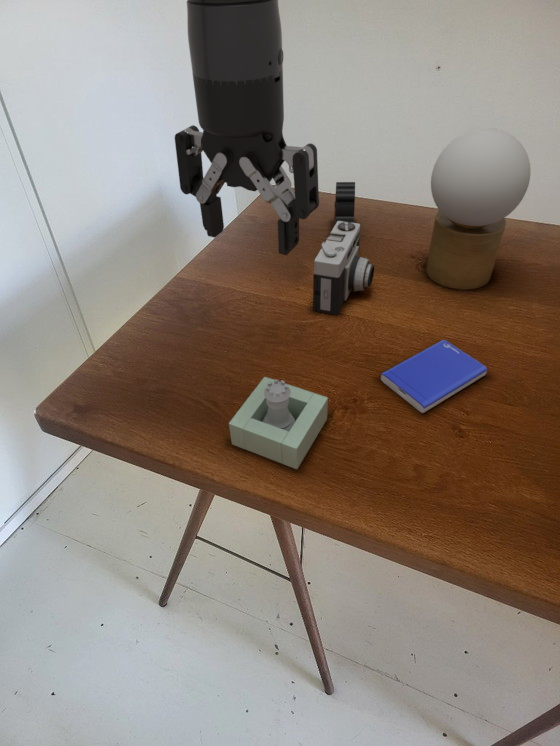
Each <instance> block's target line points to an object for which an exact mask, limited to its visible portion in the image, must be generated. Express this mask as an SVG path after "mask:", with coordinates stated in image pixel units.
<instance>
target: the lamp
mask: <svg viewBox="0 0 560 746" xmlns="http://www.w3.org/2000/svg"><path fill="white" fill-rule="evenodd" d="M430 176H431V177H430V191H431V196H432V198H433V202H434V204H435V206H436V207H437V209H438V210H437V212H436V213H435V215H434V216H435V217H434V222H433V228H432V233H431V239H430V243H429V251H428V256H427V261H426V266H425V271H426V274H427V276H428V277H429V279H430V280H432V282H435V283H436V284H438V285H439V286H443V287H445V288H448V289H453V290H461V291H462V290H474V289H478V288H482V287H484V286H485V285H487V284H488V283H489V282H490V280H491V279H492V274H493V272H494V268H495V264H496V261H497V257H498V253H499V250H500V247H501V242H502V240H503V235H504V232H505V228H506V225H507V220H506V217H507V216H509V215H510V214H511V213H513V212H514V211H515V210H516V209H517V207H518V206H519V205H520V204H521V202H522V201H523V199H524V198H525V195H526V193H527V191H528V188H529V184H530V181H531V162H530V158H529V155H528V152H527V150H526V149H525V147H524V146H523V144H522V143H521V141H519V139H517V138H516V137H515V136H514V135H512V134H511V133H510V132H507V131H505V130H502V129H498V128H495V127H480V128H474V129H471V130H468V131H466V132H464V133H462V134H459V135H458V136H456V137H455V138H453V139H452V140H450V142H448V144H447V145H446V146H445V147H444V148H443V149H442V151H441V152H440V154H439V155H438V157H437V159H436V161H435V163H434V166H433V167H432V172H431V175H430Z"/></svg>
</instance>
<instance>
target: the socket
mask: <svg viewBox="0 0 560 746" xmlns="http://www.w3.org/2000/svg"><path fill="white" fill-rule="evenodd" d="M274 380H275V379H273V378H270V377H267V376H264V377H263V378H261V380H260V381H259V383H258V384H257V386H256V387H255V388H254V389H253V391H252V392H251V393H250V395H249V396H248V397H247V399H246V400H245V401H244V402H243V404H242V405H241V406H240V408H239V409H238V411H237V412H236V413H235V415H233V417H232V418H231V419H230V421H228V428H229V434H230V441H231V445H233V446H235V447H237V448H240V449H242V450H246V451H248V452H250V453H253V454H255V455H258V456H260V457H264V458H265V459H268V460H271V461H274V462H276V463H279V464H281V465H284V466H286V467H289V468H291V469H294V470H298V469H299V467H300V466H301V464H302V463H303V461H304V459H305V457H306V456H307V454H308V453H309V450H310V449H311V447H312V446H313V444H314V442H315V440H316V438H317V437H318V435H319V433H320V432H321V430H322V428H323V427H324V425H325V423H326V422H327V420H328V412H329V411H328V408H329V407H328V406H329V397H327V396H325V395H322V394H318V393H315V392H313V391H311V390H310V391H309V390H306V389H303V388H301V387H298V386H294V385H291V384H289V383H285V385H286V384H287V386H288V387H289V388H290V391H291V394H290V396H289V404H288V409H289V412H290V413H291V414H292V416H293V417H294V419H295V423H294V425H293V426H292V428H291V429H290V431H289V432H288V431H286V430H283V429H280V428H277V427H275V426H272V425H269V424H266V423H264V422H263V420H264V417H265V416H266V414H267V413H268V405H267V403H266V400H267V399H266V398H265V396H264V390H265V388H266V386H268V383H269V382H270V381H271V382H272V383H274ZM278 382H280V383H281V381H279V380H278Z"/></svg>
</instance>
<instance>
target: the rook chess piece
mask: <svg viewBox="0 0 560 746" xmlns="http://www.w3.org/2000/svg"><path fill="white" fill-rule="evenodd" d="M273 380H274V383H272V382H271V381H270V382H269V383H268V386H266V388H265V390H264V396H265V398H266V399H267V400H266V403H267V405H268V413H267V414H266V416H265V417H264V420H263V422H264V423H266V424H269V425H272V426H275V427H277V428H280V429H283V430H286V431H288V432H289V431H290V429H291V428H292V426H293V425H294V423H295V422H296V420H295V419H294V417H293V416H292V414H291V413H290V412H289V409H288V404H289V396H290V394H291V391H290V388H289V387H288V386H287V384H288V383H286V381H285V380H283V379H282V380H280V381H279V379H273ZM278 381H279V382H278ZM280 382H281V383H280ZM285 384H286V385H285Z"/></svg>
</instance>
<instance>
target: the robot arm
mask: <svg viewBox="0 0 560 746" xmlns="http://www.w3.org/2000/svg"><path fill="white" fill-rule="evenodd" d="M186 12H187V16H186V17H187V18H186V19H187V23H186V25H187V27H186V28H187V40H188V41H187V42H188V48H189V49H188V50H189V57H190V66H191V73H192V80H193V81H192V82H193V89H194V97H195V104H196V113H197V120H198V124H199V127H200V128H201V129H202V130H203V131H200V129H199V128H198V127H197V126H196V125H194V124H193V125H190V126H188V127H186V128H184V129H183V130H180V131H178V132H177V133H175V135H174V145H175V153H176V162H177V171H178V179H179V186H180V187H179V188H180V191H181V192H182V193H183V194H184V195H192V196H194V197H195V199H196V201H197V202H198V203H199V207H200V215H201V220H202V221H201V222H202V226H203V228H204V230H205V231H206V235H207V236H208V237H210V238H214V239H215V238H217V237H218V236H219V235H221V233H223V231H224V229H225V223H224V215H223V206H222V198H221V196H218V194H219V193H220V192H221V190H222V188H223V187H224V185H225V183H226V186H227V187H231V188H240V187H241V188H243V189H245V190H247V191H251V192H257V191H258V193H259V194H260V196H261V197H262V199H263V201H264V202H265V203H267V204H270V205H271V206H272V208H273V211H275V213H276V214H277V216H278V217H279V219H278V220H277V240H278V241H277V242H278V244H277V245H278V253H279V255H283V256H288V254H290V253H291V252H292V250H294V249H295V247H297V246H298V244H299V242H300V220H306V219H307V218H308V217H309V216H310V215H311V214H312V213H313V212H314V211H315V210H316V209H318V208H319V205H320V195H319V194H320V193H319V168H318V166H319V165H318V149H317V146H316V145H315V144H314V143H310V142H309V143H307V144H305V145H304V146H293V145H287V142H286V140H285V138H284V134H283V129H284V121H285V120H284V119H285V111H284V109H285V108H284V107H285V106H284V67H283V66H284V65H283V64H284V50H283V32H282V23H281V15H280V9H279V0H186ZM202 152H204V154H205V156H206V157H207V159H208V160H209V162H210V163H211V164H210V166H209V168H208V170H207V172H206V173H205V175H204V168H203V155H202ZM285 162H286V163H287V165H288V171H289V173H290V174H293V187H294V189H293V188H292V180H291V179H290V178H289V176H288V175H287V172H286V171H285V169H284V168H283V167H282V165H283V164H284V163H285ZM272 180H273V181H274V183H275V186H273V185H272V184H271V181H272Z"/></svg>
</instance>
